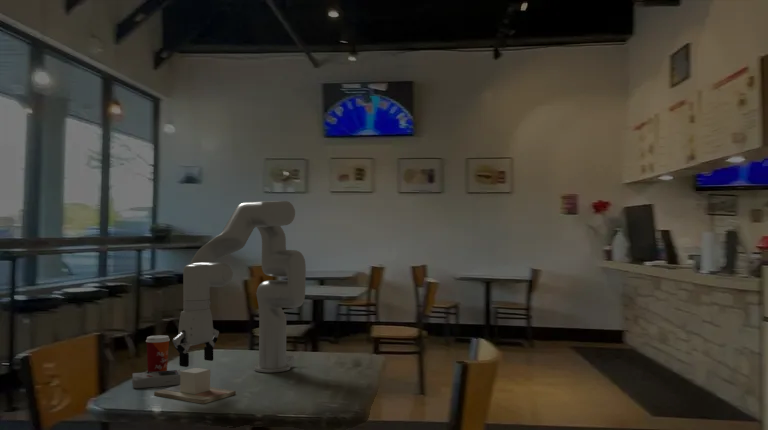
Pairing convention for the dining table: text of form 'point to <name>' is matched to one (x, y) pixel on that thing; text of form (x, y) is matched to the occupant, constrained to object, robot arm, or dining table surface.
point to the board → (197, 398)
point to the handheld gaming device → (156, 379)
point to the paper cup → (157, 353)
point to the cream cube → (195, 380)
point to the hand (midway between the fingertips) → (196, 363)
